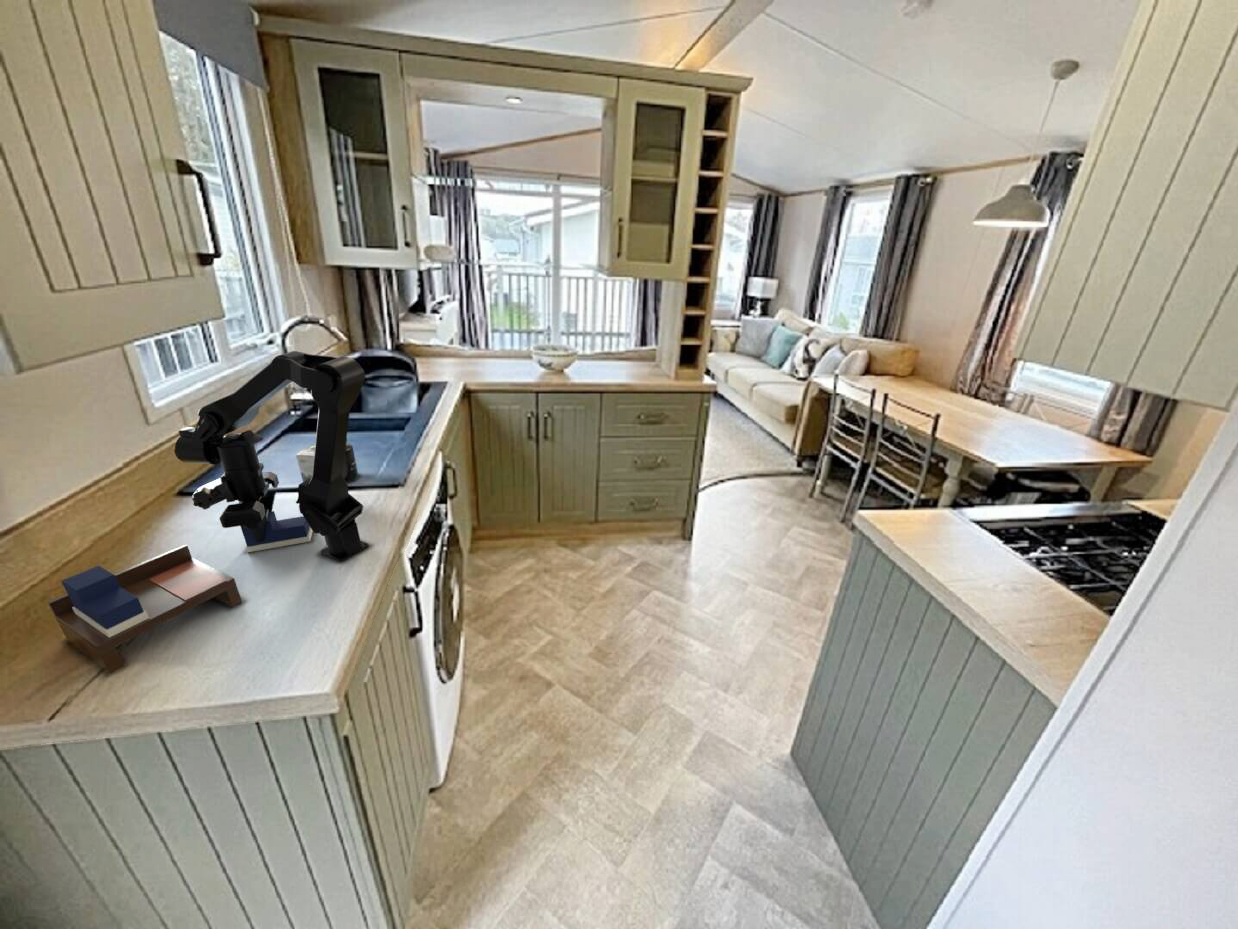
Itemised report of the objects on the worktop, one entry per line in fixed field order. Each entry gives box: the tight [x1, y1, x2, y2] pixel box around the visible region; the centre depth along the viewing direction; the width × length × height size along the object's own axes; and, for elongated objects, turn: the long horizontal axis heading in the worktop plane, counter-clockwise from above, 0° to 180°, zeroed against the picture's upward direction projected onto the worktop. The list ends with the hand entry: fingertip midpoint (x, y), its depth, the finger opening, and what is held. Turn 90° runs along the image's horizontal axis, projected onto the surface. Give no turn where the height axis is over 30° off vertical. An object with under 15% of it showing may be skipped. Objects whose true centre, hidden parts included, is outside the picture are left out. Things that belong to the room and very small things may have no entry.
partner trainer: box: [60, 565, 149, 638], centre depth 77 cm, size 11×5×6 cm, turn 62°
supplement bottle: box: [342, 437, 359, 484], centre depth 132 cm, size 7×7×12 cm
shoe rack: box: [46, 544, 243, 674], centre depth 83 cm, size 14×18×7 cm
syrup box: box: [295, 445, 315, 482], centre depth 117 cm, size 6×6×14 cm
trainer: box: [240, 510, 314, 553], centre depth 106 cm, size 11×5×6 cm, turn 112°
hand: (263, 535), depth 105 cm, fingers closed on trainer, 4 cm apart
